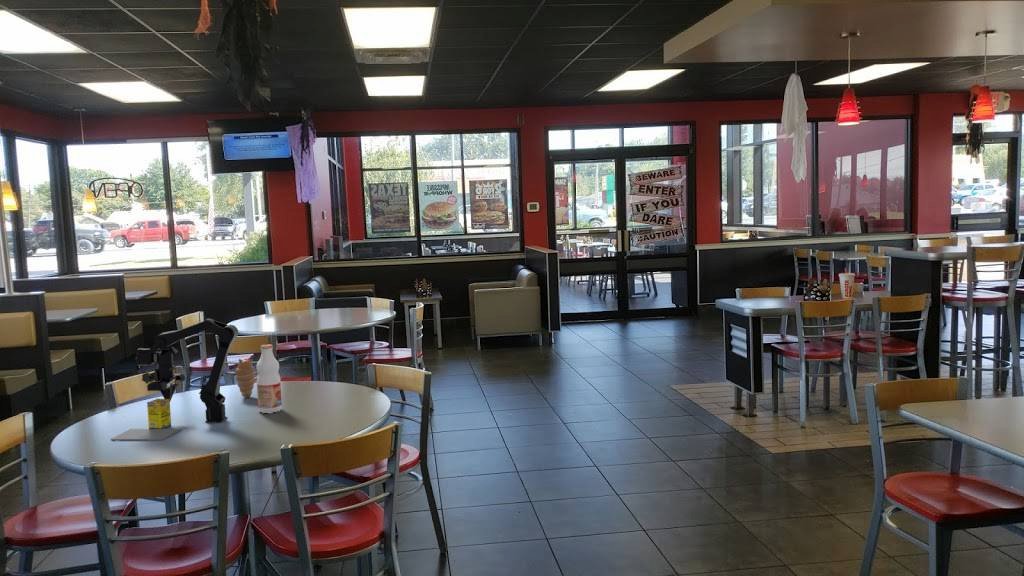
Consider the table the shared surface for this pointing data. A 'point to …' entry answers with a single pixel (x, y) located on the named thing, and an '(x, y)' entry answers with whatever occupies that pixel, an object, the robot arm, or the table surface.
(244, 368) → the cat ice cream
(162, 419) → the supplement box
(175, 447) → the table surface
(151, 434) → the mat
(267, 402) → the fruit juice
